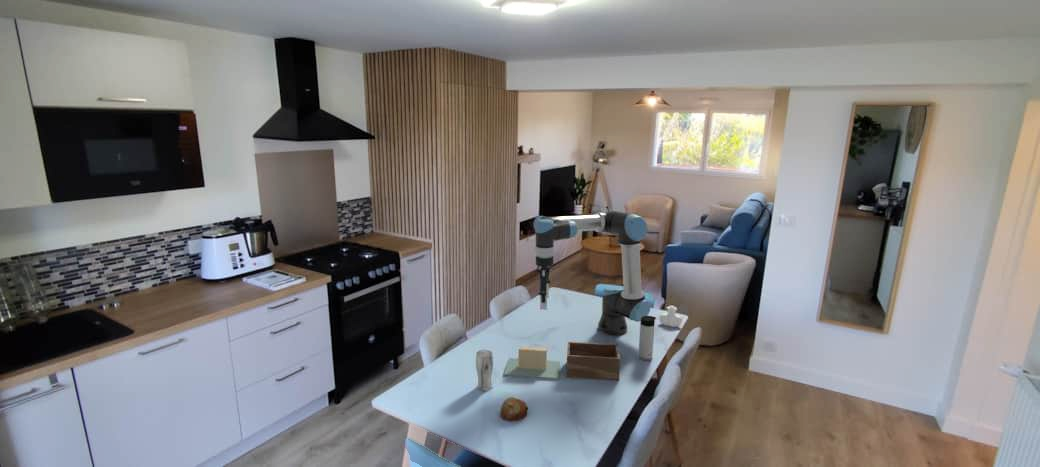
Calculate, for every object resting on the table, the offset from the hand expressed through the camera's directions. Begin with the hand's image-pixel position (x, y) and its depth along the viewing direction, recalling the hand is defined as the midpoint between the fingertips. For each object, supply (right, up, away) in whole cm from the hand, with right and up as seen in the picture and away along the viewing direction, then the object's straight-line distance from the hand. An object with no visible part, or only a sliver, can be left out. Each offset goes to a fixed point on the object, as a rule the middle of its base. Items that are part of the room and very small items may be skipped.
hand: (544, 303), depth 209 cm
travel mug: (+48, -27, +15) cm, 57 cm away
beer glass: (-25, -33, -11) cm, 43 cm away
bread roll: (-13, -37, -30) cm, 49 cm away
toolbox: (+21, -30, +2) cm, 37 cm away
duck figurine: (+71, -19, +53) cm, 90 cm away
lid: (-5, -30, +3) cm, 31 cm away
